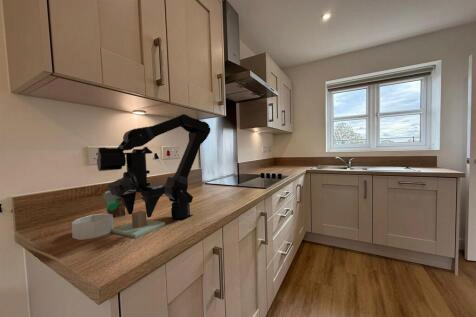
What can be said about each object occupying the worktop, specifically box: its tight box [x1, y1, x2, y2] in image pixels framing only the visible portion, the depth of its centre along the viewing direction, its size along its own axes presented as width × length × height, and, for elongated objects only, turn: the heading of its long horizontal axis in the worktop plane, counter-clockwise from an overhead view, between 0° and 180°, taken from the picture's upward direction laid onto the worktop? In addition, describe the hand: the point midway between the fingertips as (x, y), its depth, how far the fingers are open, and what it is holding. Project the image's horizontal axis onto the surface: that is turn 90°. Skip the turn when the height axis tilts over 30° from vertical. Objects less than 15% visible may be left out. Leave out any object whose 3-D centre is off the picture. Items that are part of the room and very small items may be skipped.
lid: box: [112, 210, 166, 239], centre depth 65 cm, size 11×11×5 cm
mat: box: [110, 223, 168, 239], centre depth 65 cm, size 12×12×1 cm
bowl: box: [71, 212, 114, 241], centre depth 63 cm, size 10×10×5 cm
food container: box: [103, 190, 126, 219], centre depth 81 cm, size 12×6×10 cm, turn 45°
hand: (139, 215), depth 65 cm, fingers open, 9 cm apart
